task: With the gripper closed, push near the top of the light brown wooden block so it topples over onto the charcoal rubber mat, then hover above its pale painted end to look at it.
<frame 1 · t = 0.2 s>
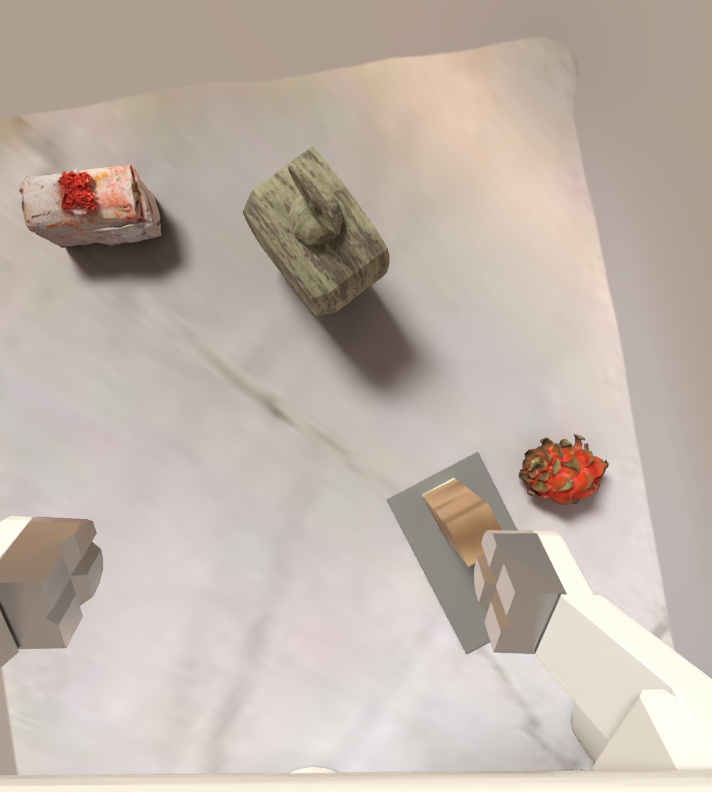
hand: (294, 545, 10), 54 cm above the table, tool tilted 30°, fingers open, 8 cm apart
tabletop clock: (317, 267, 63), on the table
can: (592, 714, 67), on the table
food item: (112, 222, 62), on the table
light brown wooden block: (445, 502, 65), resting on rubber mat
rubber mat: (471, 552, 65), on the table
dragon fruit: (550, 465, 66), on the table
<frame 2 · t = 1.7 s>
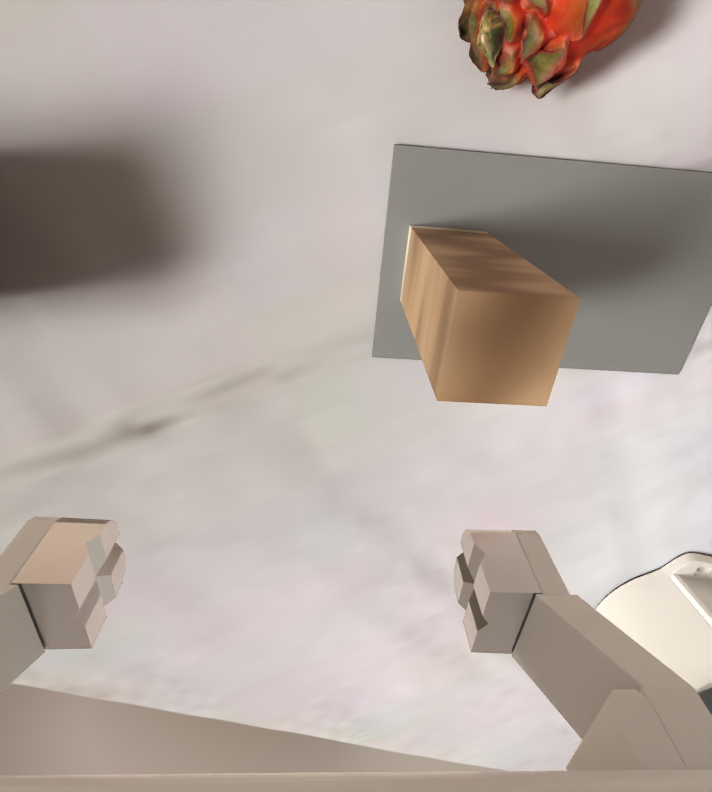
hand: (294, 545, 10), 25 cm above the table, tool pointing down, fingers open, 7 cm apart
light brown wooden block: (441, 266, 32), resting on rubber mat
rubber mat: (553, 273, 33), on the table
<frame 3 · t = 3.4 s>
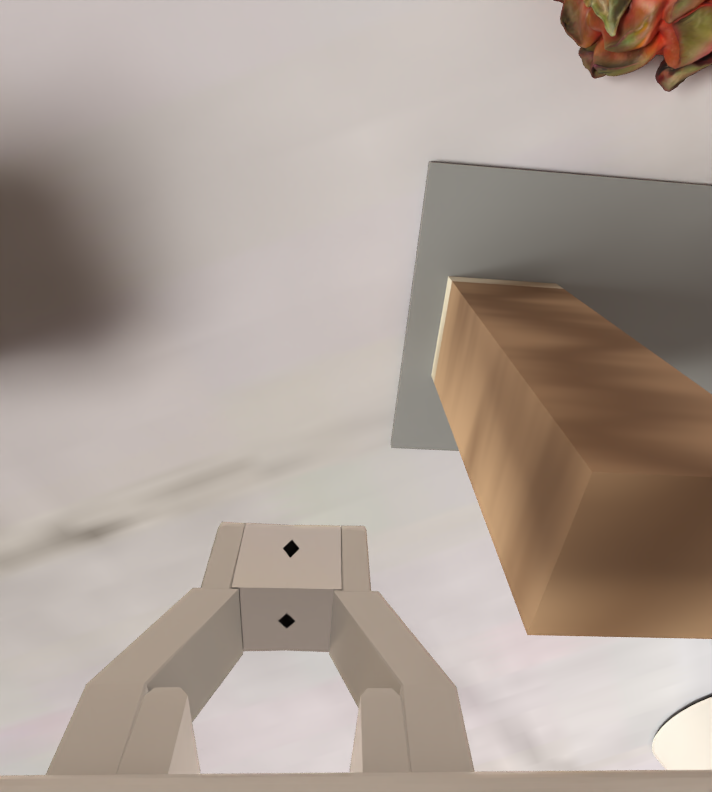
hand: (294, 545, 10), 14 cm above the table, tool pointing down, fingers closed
light brown wooden block: (490, 331, 23), resting on rubber mat
rubber mat: (646, 338, 24), on the table
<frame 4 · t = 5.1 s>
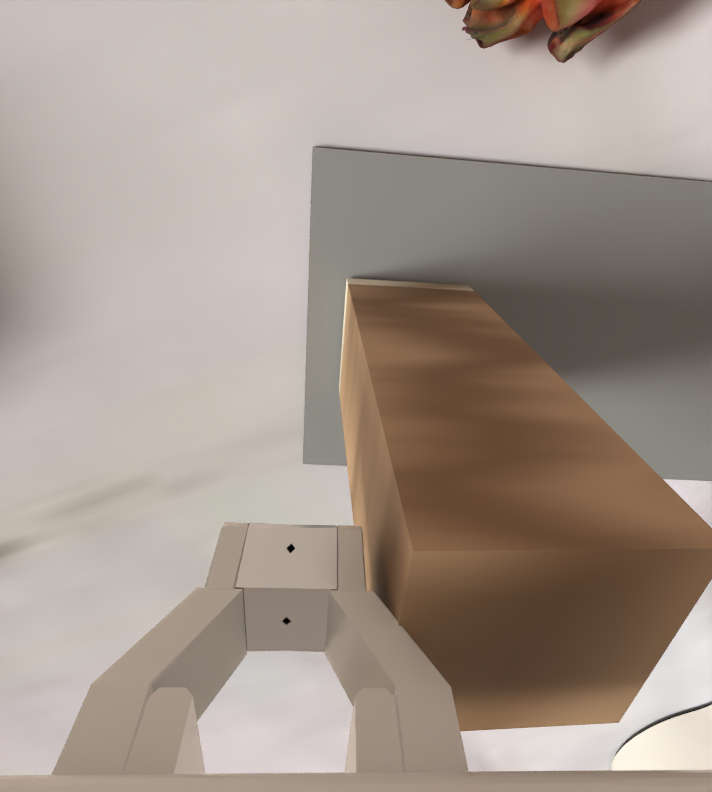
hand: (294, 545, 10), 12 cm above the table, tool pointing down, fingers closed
light brown wooden block: (400, 339, 20), point 1 cm above the table, touching gripper, rubber mat
rubber mat: (575, 345, 21), on the table
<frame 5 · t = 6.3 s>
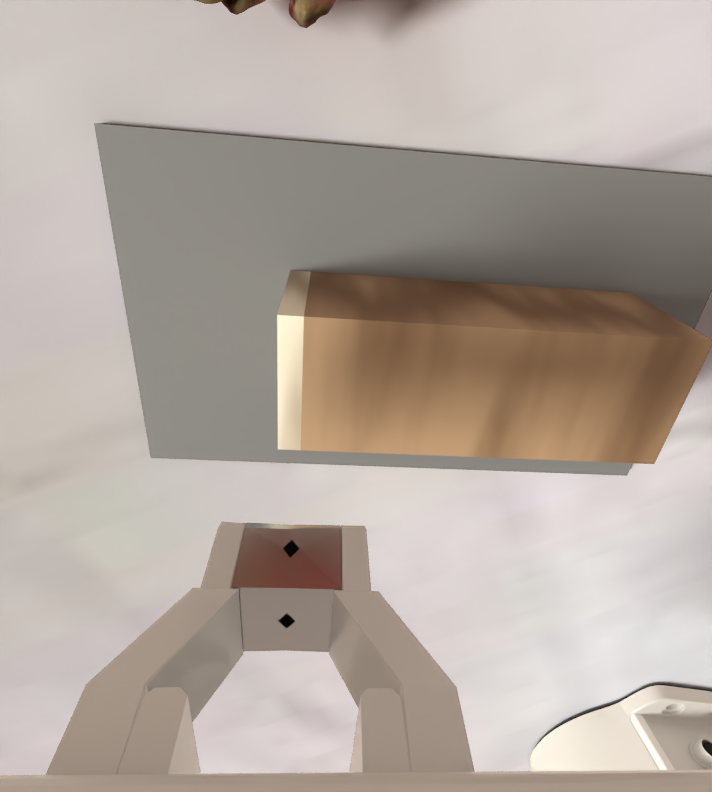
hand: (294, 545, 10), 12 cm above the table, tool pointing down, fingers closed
light brown wooden block: (284, 355, 18), point 3 cm above the table, tilted 90°, touching rubber mat
rubber mat: (416, 333, 21), on the table
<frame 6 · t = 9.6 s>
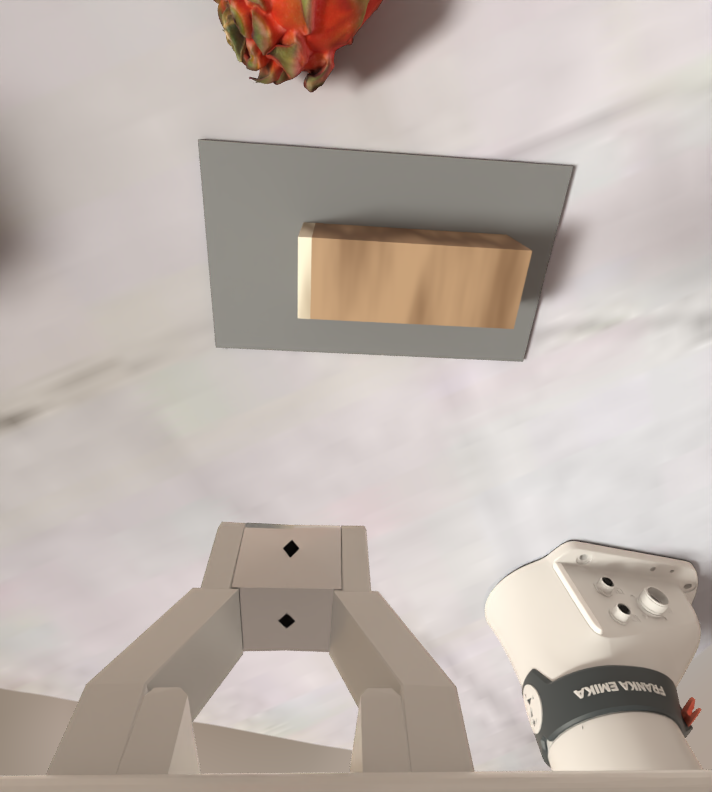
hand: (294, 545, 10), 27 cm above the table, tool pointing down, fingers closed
light brown wooden block: (300, 268, 31), point 3 cm above the table, tilted 90°, touching rubber mat
rubber mat: (379, 262, 34), on the table
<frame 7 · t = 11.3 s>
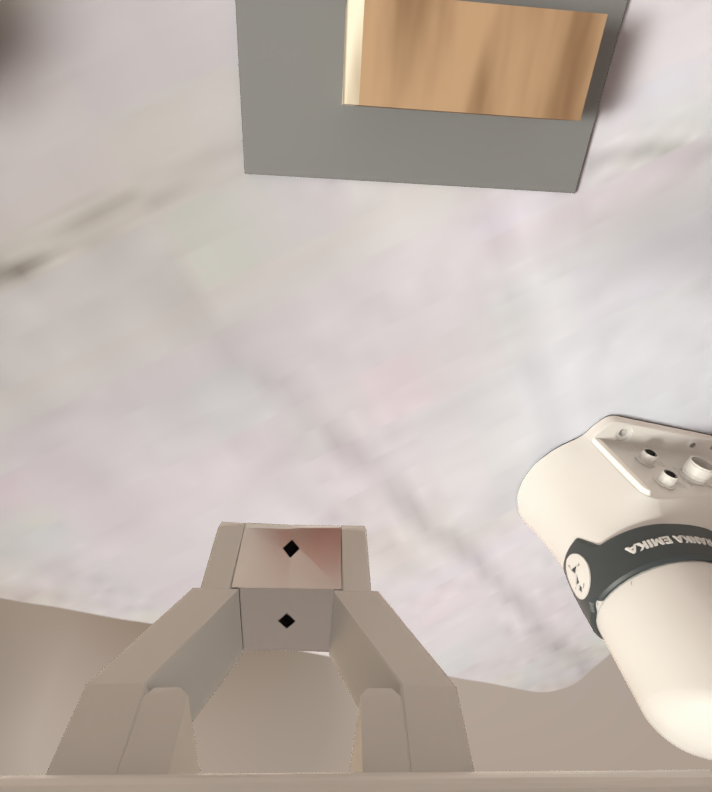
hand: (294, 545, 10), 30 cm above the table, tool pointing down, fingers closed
light brown wooden block: (345, 54, 28), point 3 cm above the table, tilted 90°, touching rubber mat
rubber mat: (426, 65, 31), on the table
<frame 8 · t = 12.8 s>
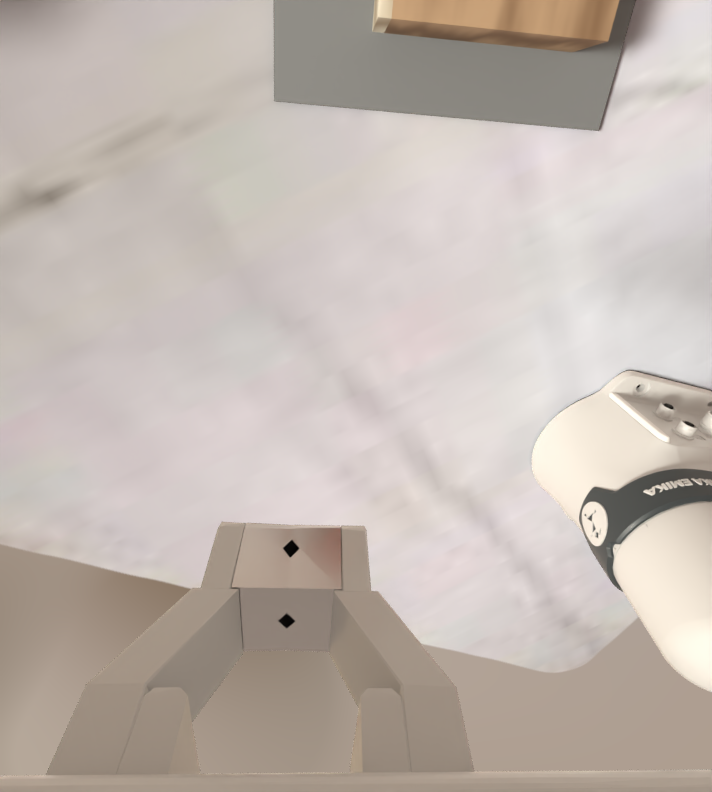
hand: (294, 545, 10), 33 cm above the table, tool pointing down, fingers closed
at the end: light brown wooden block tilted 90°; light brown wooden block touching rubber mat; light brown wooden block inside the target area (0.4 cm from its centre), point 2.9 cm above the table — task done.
